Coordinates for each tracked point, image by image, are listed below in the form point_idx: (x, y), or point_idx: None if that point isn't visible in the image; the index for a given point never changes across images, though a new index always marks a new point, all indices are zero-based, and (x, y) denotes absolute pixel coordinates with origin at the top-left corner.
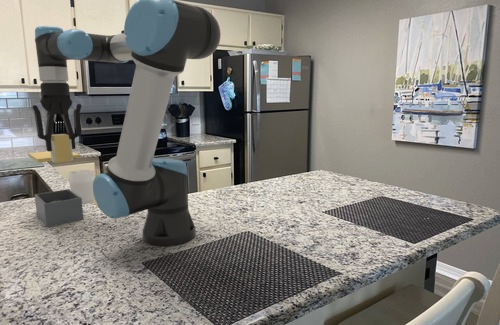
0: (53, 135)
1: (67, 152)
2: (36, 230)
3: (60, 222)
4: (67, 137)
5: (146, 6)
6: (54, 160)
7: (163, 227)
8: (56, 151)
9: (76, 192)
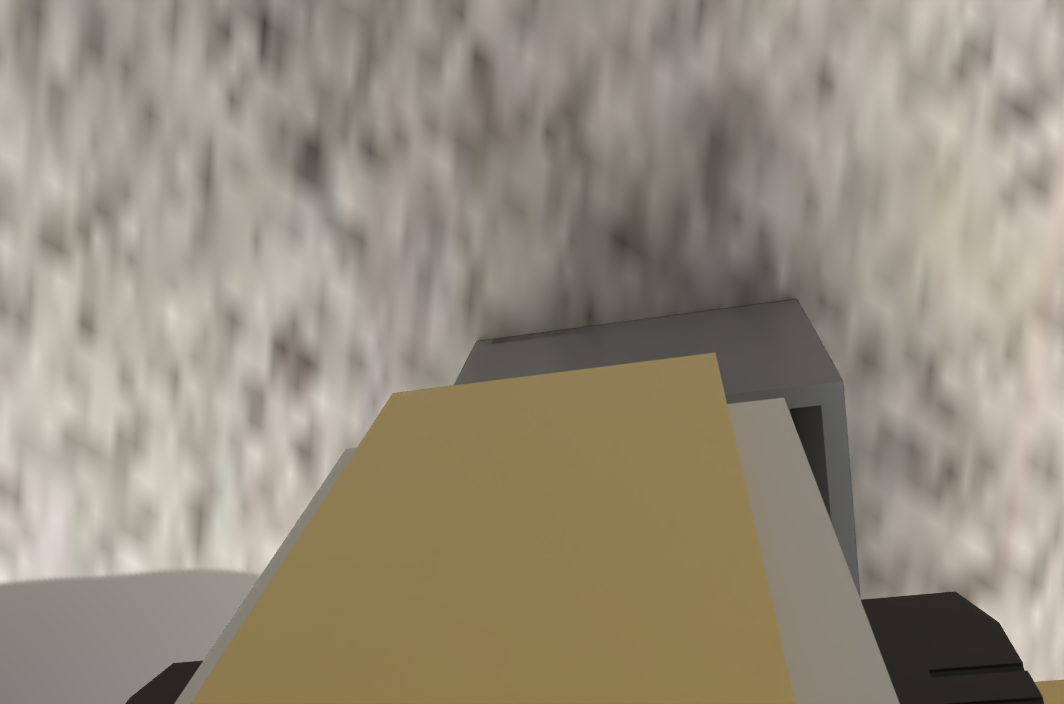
0: None
1: (406, 488)
2: (884, 302)
3: (677, 323)
4: None
5: None
6: (766, 421)
7: None
8: (721, 479)
9: None
